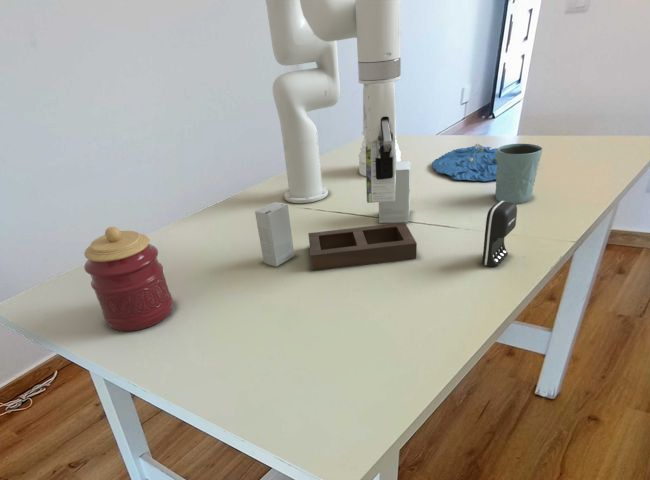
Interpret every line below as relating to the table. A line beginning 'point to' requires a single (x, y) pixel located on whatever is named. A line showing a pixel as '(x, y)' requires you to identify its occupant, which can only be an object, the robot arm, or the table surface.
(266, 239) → the cosmetic box
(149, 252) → the kitchen canister
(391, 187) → the syrup box
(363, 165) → the honey pot
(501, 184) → the green cup
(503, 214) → the battery charger
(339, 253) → the rack
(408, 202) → the white packaging box
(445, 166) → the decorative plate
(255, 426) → the table surface
